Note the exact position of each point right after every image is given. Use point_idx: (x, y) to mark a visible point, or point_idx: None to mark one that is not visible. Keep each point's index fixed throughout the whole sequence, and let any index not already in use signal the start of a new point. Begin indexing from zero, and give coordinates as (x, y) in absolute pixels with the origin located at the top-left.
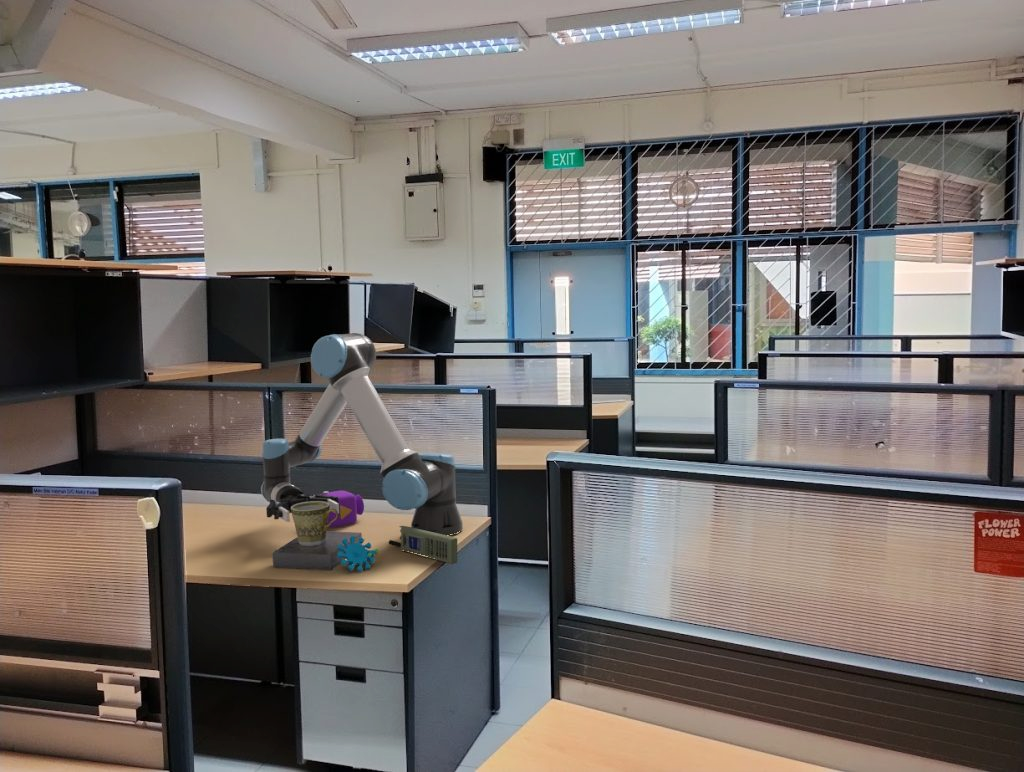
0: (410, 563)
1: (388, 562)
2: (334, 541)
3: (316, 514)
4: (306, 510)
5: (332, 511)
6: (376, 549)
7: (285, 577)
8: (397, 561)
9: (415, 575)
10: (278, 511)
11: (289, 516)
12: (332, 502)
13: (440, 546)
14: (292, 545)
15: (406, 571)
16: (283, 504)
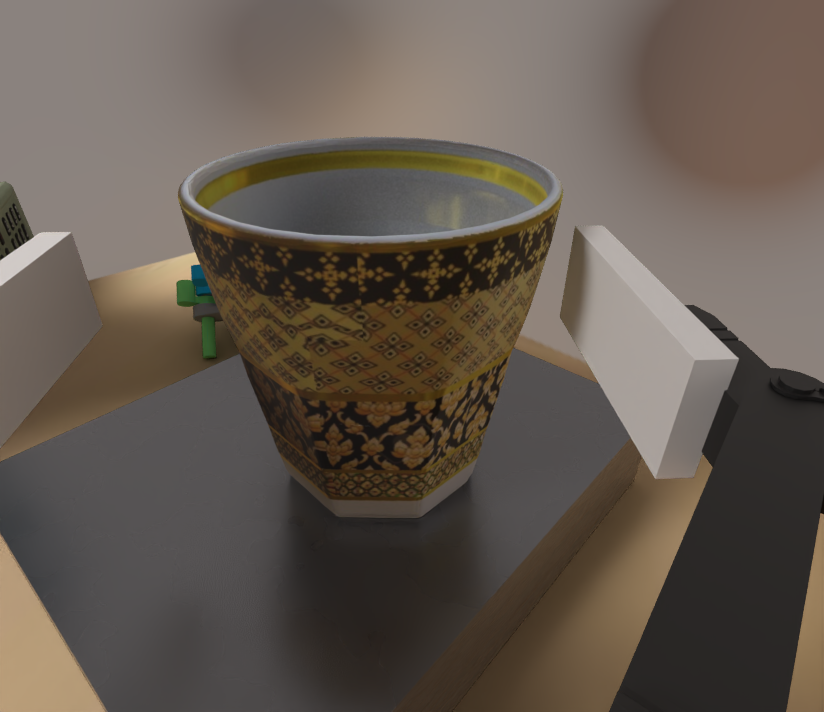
0: (113, 302)
1: (155, 331)
2: (253, 409)
3: (378, 177)
4: (448, 142)
5: (49, 388)
6: (184, 281)
7: (568, 363)
8: (123, 327)
9: (195, 252)
10: (708, 327)
11: (567, 273)
12: (14, 280)
13: (15, 231)
14: (523, 458)
15: (186, 272)
16: (693, 516)
